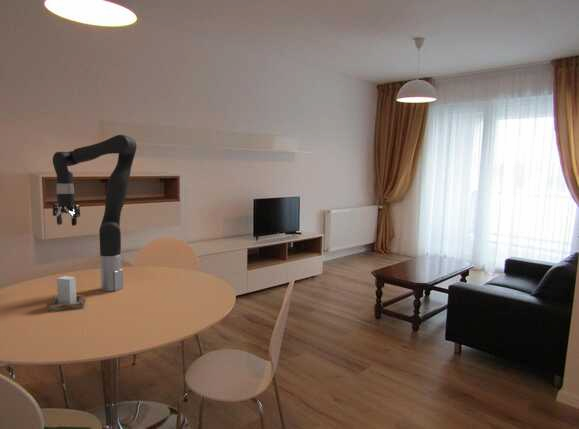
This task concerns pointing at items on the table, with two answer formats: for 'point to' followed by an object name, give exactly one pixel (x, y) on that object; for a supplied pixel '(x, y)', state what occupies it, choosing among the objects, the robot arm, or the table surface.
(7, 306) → the table surface
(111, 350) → the table surface
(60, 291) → the skincare box
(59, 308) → the tray
